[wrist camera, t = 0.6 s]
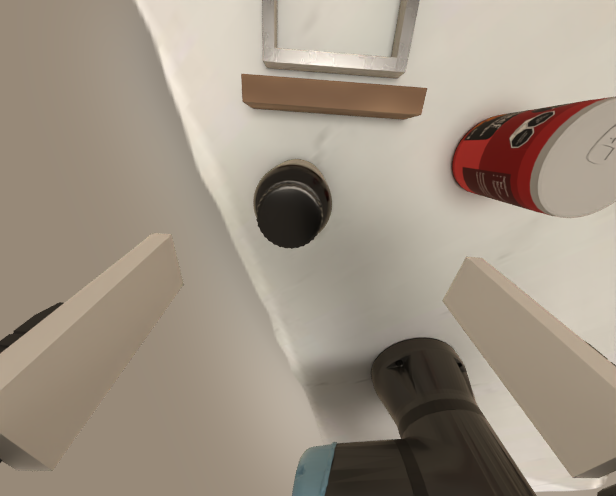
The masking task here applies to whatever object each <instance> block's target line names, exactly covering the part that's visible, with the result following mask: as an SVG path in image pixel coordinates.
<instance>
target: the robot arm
mask: <svg viewBox="0 0 616 496" xmlns="http://www.w3.org/2000/svg"><path fill="white" fill-rule="evenodd" d="M183 285H184V284H183V280H182V276H181V272H180V268H179V263H178V259H177V256H176V251H175V247H174V243H173V238H172V235H171V234H159V233H152V234H151V235H150V236H148V237H147V238H146V239H145V240H143V241H142V242H141V243H140V244H138V245H137V246H136V247H135V248H133V249H132V250H131V251H129V252H128V253H127V254H126V255H124V256H123V257H122V258H121V259H119V260H118V261H117V262H116V263H114V264H113V265H112V266H111V267H109V268H108V269H107V270H106V271H104V272H103V273H102V274H100V275H99V276H98V277H97V278H95V279H94V280H93V281H92V282H90V283H89V284H88V285H87V286H85V287H84V288H83V289H81V290H80V291H79V292H78V293H77V294H75V295H74V296H72V297H71V298H70V299H69V300H67V301H66V302H65V303H57V304H56V305H54V306H52V307H50V308H48V309H46V310H44V311H42V312H40V313H38V314H36V315H34V316H33V317H32V318H30V319H29V320H28V321H26V322H25V323H24V324H22V325H21V326H20V327H18V328H17V329H16V330H14V333H13V334H9V335H8V336H6V337H5V338H4V339H2V340H1V341H0V463H1V461H3V462H4V463H6V464H8V465H9V466H11V467H13V468H14V469H16V470H23V471H53V470H54V468H55V467H56V465H57V464H58V462H59V461H60V460H61V458H62V457H63V455H64V454H65V453H66V451H67V450H68V448H69V447H70V445H71V444H72V443H73V441H74V440H75V438H76V437H77V436H78V434H79V433H80V431H81V430H82V428H83V427H84V426H85V424H86V423H87V421H88V420H89V418H90V417H91V415H92V414H93V413H94V411H95V410H96V409H97V407H98V406H99V404H100V403H101V401H102V400H103V399H104V397H105V396H106V394H107V393H108V391H109V390H110V389H111V387H112V386H113V384H114V383H115V382H116V380H117V379H118V377H119V376H120V374H121V373H122V372H123V370H124V369H125V367H126V366H127V364H128V363H129V362H130V360H131V359H132V357H133V356H134V355H135V353H136V352H137V350H138V349H139V347H140V346H141V345H142V343H143V342H144V340H145V339H146V338H147V336H148V335H149V333H150V332H151V330H152V329H153V328H154V326H155V325H156V323H157V322H158V320H159V319H160V318H161V316H162V315H163V313H164V312H165V311H166V309H167V308H168V306H169V305H170V303H171V302H172V300H173V299H174V298H175V296H176V295H177V294H178V292H179V291H180V289H181V288H182V286H183ZM443 302H444V304H445V305H446V306H447V308H448V309H449V311H450V312H451V313H452V315H453V316H454V317H455V319H456V320H457V321H458V323H459V324H460V326H461V327H462V328H463V330H464V331H465V332H466V334H467V335H468V336H469V338H470V339H471V340H472V342H473V343H474V345H475V346H476V347H477V349H478V350H479V351H480V353H481V354H482V355H483V357H484V358H485V359H486V361H487V362H488V364H489V365H490V366H491V368H492V369H493V370H494V372H495V373H496V374H497V376H498V377H499V378H500V380H501V381H502V383H503V384H504V385H505V387H506V388H507V389H508V391H509V392H510V393H511V395H512V396H513V397H514V399H515V400H516V402H517V403H518V404H519V406H520V407H521V408H522V410H523V411H524V412H525V414H526V415H527V416H528V418H529V419H530V421H531V422H532V423H533V425H534V426H535V427H536V429H537V430H538V431H539V433H540V434H541V435H542V437H543V438H544V440H545V441H546V442H547V444H548V445H549V446H550V448H551V449H552V450H553V452H554V453H555V454H556V456H557V457H558V459H559V460H560V461H561V463H562V464H563V465H564V467H565V468H566V469H567V471H568V472H569V473H570V475H571V476H572V478H600V477H602V476H605V475H607V474H609V473H611V472H614V471H616V365H615V364H613V363H612V362H609V361H608V360H607V358H606V357H605V356H603V355H602V354H601V353H600V352H598V351H597V350H596V349H595V348H594V347H592V346H591V345H590V344H589V343H587V342H585V341H584V340H582V339H581V338H580V337H579V336H578V335H576V334H575V333H574V332H573V331H571V330H570V329H569V328H568V327H566V326H565V325H564V324H563V323H562V322H560V321H559V320H558V319H557V318H555V317H554V316H553V315H552V314H550V313H549V312H548V311H547V310H546V309H544V308H543V307H542V306H541V305H539V304H538V303H537V302H536V301H534V300H533V299H532V298H531V297H530V296H528V295H527V294H526V293H525V292H523V291H522V290H521V289H520V288H518V287H517V286H516V285H515V284H514V283H512V282H511V281H510V280H509V279H507V278H506V277H505V276H504V275H502V274H501V273H500V272H499V271H498V270H496V269H495V268H494V267H493V266H491V265H490V264H489V263H488V262H486V261H485V260H484V259H483V258H475V257H466V259H465V260H464V262H463V264H462V266H461V268H460V270H459V271H458V273H457V275H456V277H455V279H454V281H453V282H452V284H451V286H450V288H449V290H448V292H447V293H446V295H445V297H444V299H443ZM371 377H372V381H373V385H374V388H375V391H376V393H377V395H378V397H379V398H380V400H381V401H382V403H383V405H384V406H385V408H386V409H387V411H388V412H389V414H390V416H391V417H392V419H393V420H394V422H395V424H396V425H397V428H398V430H399V434H400V437H401V439H394V440H393V439H392V440H378V441H365V442H351V443H338V444H337V442H334V443H332V444H330V445H323V446H316V447H311V448H309V449H307V450H306V451H305V452H304V453H303V455H302V456H301V458H300V461H299V464H298V467H297V471H296V476H295V481H294V486H293V493H292V496H536V494H535V492H534V491H533V489H532V488H531V486H530V485H529V483H528V482H527V480H526V479H525V477H524V476H523V474H522V473H521V471H520V470H519V468H518V467H517V465H516V464H515V462H514V461H513V459H512V457H511V456H510V454H509V453H508V451H507V450H506V448H505V447H504V445H503V444H502V442H501V441H500V439H499V438H498V436H497V435H496V433H495V432H494V430H493V429H492V427H491V426H490V424H489V422H488V421H487V420H486V418H485V417H484V415H483V413H482V412H481V410H480V409H479V407H478V406H477V403H476V401H475V398H474V394H473V391H472V388H471V385H470V381H469V378H468V375H467V372H466V369H465V366H464V364H463V362H462V360H461V359H460V358H459V356H458V355H457V353H456V352H455V351H454V349H453V348H452V347H450V346H449V345H448V344H446V343H444V342H442V341H439V340H435V339H428V338H418V339H411V340H406V341H403V342H400V343H397V344H395V345H393V346H391V347H389V348H388V349H386V350H385V351H384V352H382V353H381V354H380V355H379V356H378V357H377V359H376V360H375V362H374V364H373V366H372V369H371ZM597 496H616V484H614V485H612V486H609V487H607V488H605V489H602V490H601V491H599V492H598V495H597Z"/></svg>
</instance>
